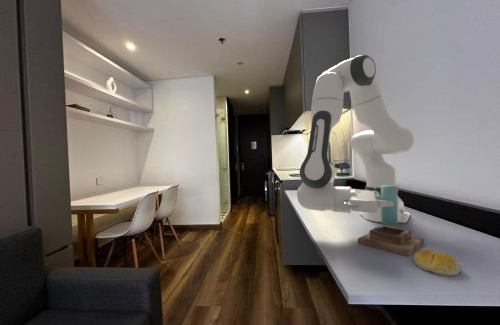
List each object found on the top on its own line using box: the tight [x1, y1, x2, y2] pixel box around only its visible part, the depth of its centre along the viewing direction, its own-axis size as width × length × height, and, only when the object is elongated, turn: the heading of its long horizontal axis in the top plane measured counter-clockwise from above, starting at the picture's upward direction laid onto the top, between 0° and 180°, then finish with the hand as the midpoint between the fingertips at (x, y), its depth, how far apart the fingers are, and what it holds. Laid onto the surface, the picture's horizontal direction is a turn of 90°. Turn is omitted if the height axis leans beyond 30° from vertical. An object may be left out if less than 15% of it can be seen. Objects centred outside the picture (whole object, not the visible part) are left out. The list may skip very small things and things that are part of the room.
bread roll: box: [413, 249, 462, 277], centre depth 59 cm, size 8×9×4 cm
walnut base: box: [357, 224, 425, 257], centre depth 75 cm, size 14×14×4 cm
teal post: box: [380, 185, 399, 227], centre depth 75 cm, size 4×4×12 cm
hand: (392, 201), depth 74 cm, fingers closed on teal post, 4 cm apart
